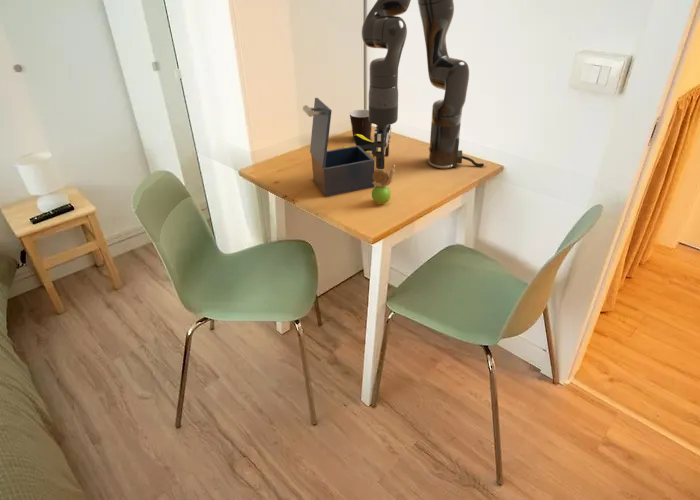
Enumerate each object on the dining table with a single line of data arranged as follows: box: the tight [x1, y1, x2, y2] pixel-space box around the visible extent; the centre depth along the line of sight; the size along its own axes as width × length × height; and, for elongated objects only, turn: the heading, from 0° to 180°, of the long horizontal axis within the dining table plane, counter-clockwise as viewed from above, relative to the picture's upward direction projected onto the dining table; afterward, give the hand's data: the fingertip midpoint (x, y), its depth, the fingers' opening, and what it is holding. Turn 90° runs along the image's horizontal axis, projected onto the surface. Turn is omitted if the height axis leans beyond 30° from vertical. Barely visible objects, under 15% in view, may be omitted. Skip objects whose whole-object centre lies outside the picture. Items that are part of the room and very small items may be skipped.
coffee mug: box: [349, 109, 373, 141], centre depth 172 cm, size 12×9×10 cm
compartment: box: [310, 145, 376, 198], centre depth 143 cm, size 16×13×9 cm
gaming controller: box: [342, 134, 375, 159], centre depth 162 cm, size 15×6×10 cm
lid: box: [302, 97, 333, 168], centre depth 133 cm, size 17×13×5 cm
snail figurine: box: [371, 164, 396, 205], centre depth 131 cm, size 5×6×12 cm
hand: (382, 162), depth 127 cm, fingers open, 8 cm apart
